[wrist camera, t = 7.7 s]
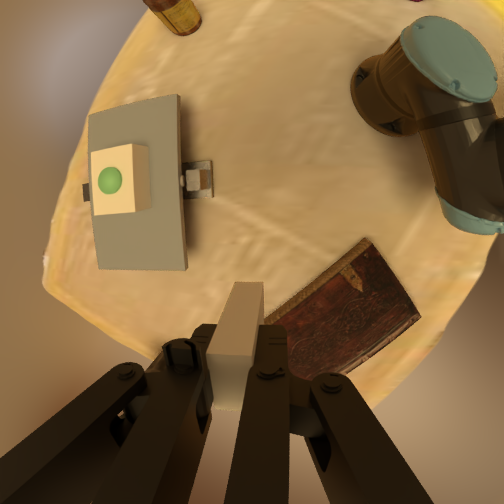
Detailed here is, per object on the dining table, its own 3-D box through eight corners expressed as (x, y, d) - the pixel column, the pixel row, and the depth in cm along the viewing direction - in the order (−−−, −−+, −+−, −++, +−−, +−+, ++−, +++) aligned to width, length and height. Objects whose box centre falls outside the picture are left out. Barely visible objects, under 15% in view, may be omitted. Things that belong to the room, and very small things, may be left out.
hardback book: (301, 388, 55) (302, 403, 51) (242, 334, 53) (238, 348, 48) (412, 307, 48) (423, 318, 44) (363, 237, 46) (372, 243, 41)
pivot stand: (102, 174, 47) (80, 175, 40) (212, 161, 45) (200, 158, 38) (110, 253, 51) (90, 263, 44) (217, 252, 49) (207, 264, 42)
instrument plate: (95, 117, 38) (66, 110, 30) (183, 97, 36) (162, 81, 29) (105, 265, 44) (78, 280, 37) (191, 266, 43) (172, 284, 35)
